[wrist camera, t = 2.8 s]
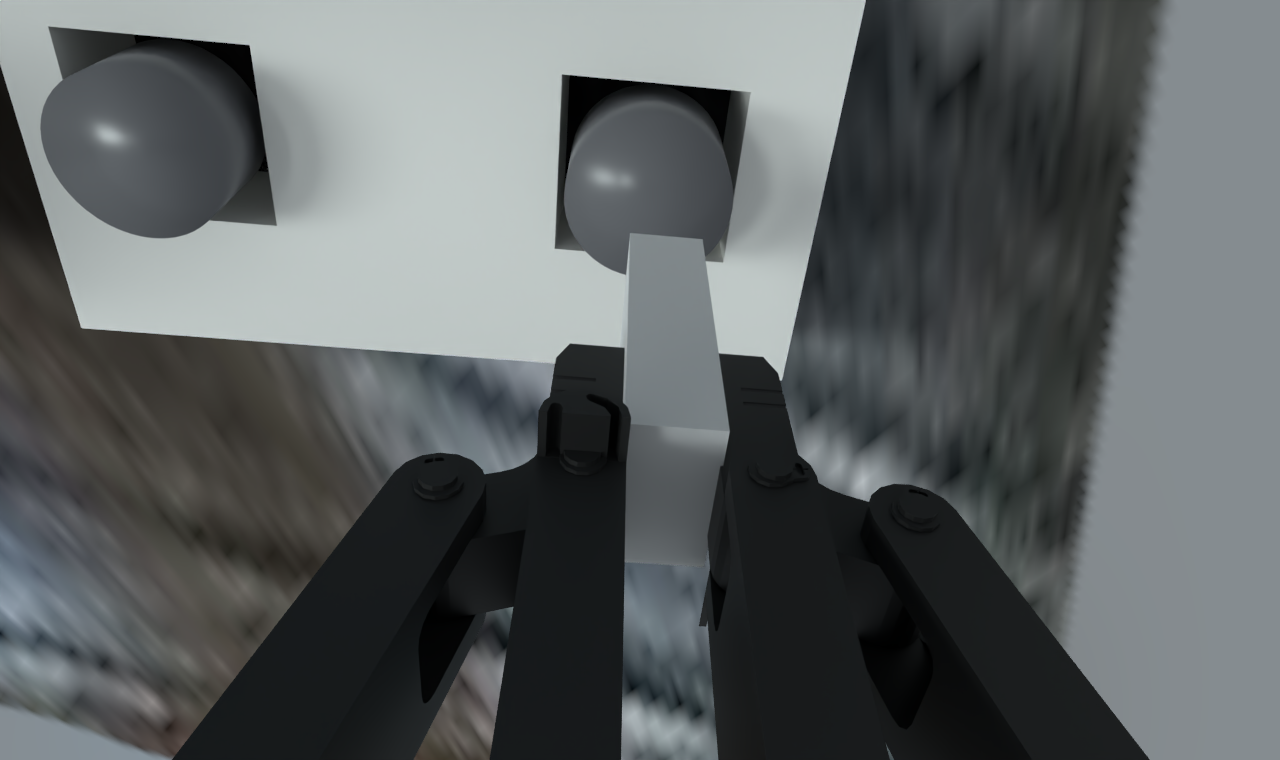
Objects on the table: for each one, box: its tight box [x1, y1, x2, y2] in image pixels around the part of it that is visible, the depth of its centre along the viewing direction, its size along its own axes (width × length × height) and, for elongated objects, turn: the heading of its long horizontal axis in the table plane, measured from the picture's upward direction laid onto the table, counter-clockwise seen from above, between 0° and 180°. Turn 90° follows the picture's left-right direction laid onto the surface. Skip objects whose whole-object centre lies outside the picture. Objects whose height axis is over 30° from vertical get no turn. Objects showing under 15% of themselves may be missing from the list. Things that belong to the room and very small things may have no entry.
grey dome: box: [564, 84, 733, 275], centre depth 24 cm, size 4×4×3 cm
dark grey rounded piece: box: [40, 39, 266, 238], centre depth 23 cm, size 4×4×3 cm
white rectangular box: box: [0, 0, 866, 381], centre depth 25 cm, size 22×13×4 cm, turn 85°
